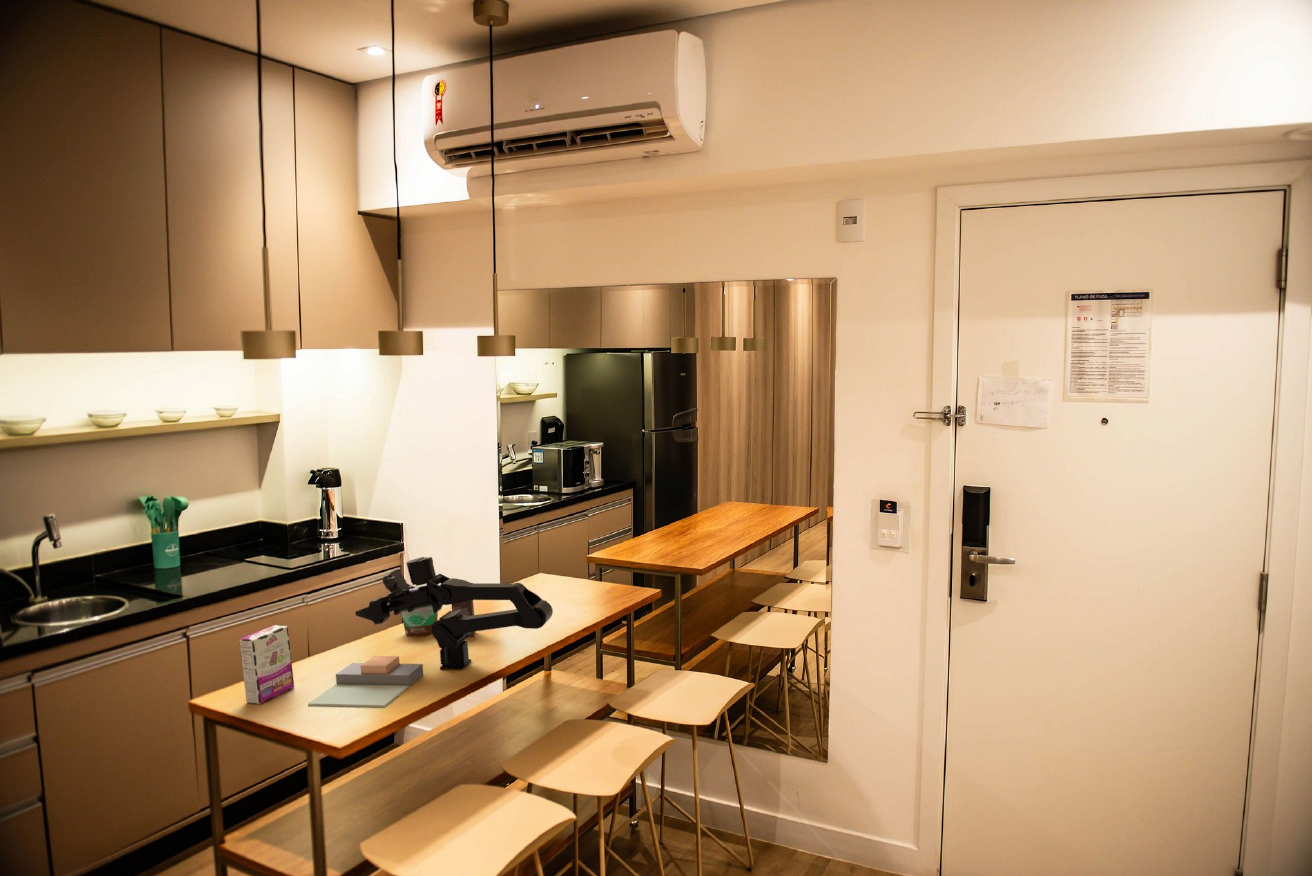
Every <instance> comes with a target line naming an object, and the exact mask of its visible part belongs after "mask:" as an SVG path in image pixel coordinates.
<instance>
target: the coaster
mask: <svg viewBox="0 0 1312 876" xmlns="http://www.w3.org/2000/svg"><path fill="white" fill-rule="evenodd" d="M362 663H363V664H362V665H360V667H361V673H388V672H389V671H390V670H392V669H393V668H394V667H396V666H397V665H398V664H400V656H399V655H373V657H371V658H369V659H368V660H366V661H365V662H362Z"/></svg>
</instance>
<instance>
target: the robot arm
mask: <svg viewBox="0 0 1312 876" xmlns="http://www.w3.org/2000/svg"><path fill="white" fill-rule="evenodd" d="M406 567H407V571H408V575H409V578H410V579H409V580H410V583H411V584H409V583H407V581H406V579H405V577H404V576H403V574H402V572H401V571H400V570H399V569H395V570H392V571H390V572H389V573H388V574H386V575H384V576H383V577H382V578H381V580H382V583H383V585H384V587H385V588H386V590H387V591H388V590H389V591H388V592H389V593H388V594H387V595H386V596H383V597H382V596H381V597H376V598H374V599H372V600H370V601H369V603H368V606H366V607H363V608H361V609H359V610H356V611H355V616H357V617H359V618H362V619H366V620H369V621H371V622H373V624H374V625H375V626H376V625H380V624H383V623H385V622H386V621H388V620H389V618H391V614H390V613H391V612H393V615H394V616H397V615H399V614H402V613H401V612H405V611H408V612H412V611H414V610H415V609H420V608H425V607H430V606H432V608H433V612H434V613H437V612H438V613H439V612H440V610H442V609H443V608H442V607H444V606H449V605H450V606H451V604H456V603H460V602H463V601H467V600H473V601H510V602H511V603H512V604H513V605H514V606H513V607H515V609H509V610H508V609H507V610H501V611H493V612H489V613H488V612H487V613H481V614H480V613H479V614H474V615H472V616H467V615H463V610H458V611H452V610H448V611H447V612H446V613H444V614H443V615H442V616H441V617H439V619H438V620H437V621H436V622H435V623H434V624H433V625H432V629H431V631H432V634H431V636H432V637H433V638H434V639H435V640H436V642H437V645H438V648H439V653H440V654H439V658H440V664H441V666H440V667H439V670H464V669H465V668H466V667H467V666H468V665H469V664H470V663H471V662H472V659H469V658H470V656H469V646H468V644H469V643H468V640H467V639H469V637H470V636H469V634H470V632H475V631H476V632H482V631H488V630H489V631H490V630H496V629H502V628H509V627H520V628H523V629H530V630H531V629H532V630H536V629H541V628H543V626H544V625H546V624H547V622H548V621H549V620H550V619H551V618H552V616H553V607H552V605H551V604H550V602H548V601H547V600H544V599H542V598H541V597H540V596H539V595H538V594H537V593H535V592H533V591H532V590H530V589H529V588H527V587H526V586H525V585H524V584H523V583H522V582H513V583H509V582H507V583H504V582H503V583H500V582H499V583H491V582H490V583H486V582H485V583H481V582H480V583H473V582H470V581H468V580H465V579H459V578H454V577H453V578H450V577H448V576H446V575H444V574H442V573H438V574H436V571H435V565H434V560H433V557H432V556H430V557H428V556H425V557H424V556H421V557H417V558H414V559H411V560H408V561H407V562H406ZM476 632H475V633H476Z"/></svg>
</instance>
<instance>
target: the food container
mask: <svg viewBox="0 0 1312 876" xmlns="http://www.w3.org/2000/svg"><path fill="white" fill-rule="evenodd" d="M400 614H401V617H402V623H403V628H404V633H405V634H404V635H405V636H406V637H409V638H422V637H421V636H424V637H427V636H430V635H431V636H432V631H431V629H432V625H433V624H434V623H435V622H436V621H437V620H439V619H438V617H439V611H438V612H437V613H434V612H433V608H432V606H430V607H425V608H420V609H415V610H414V611H412V612H408V611H405V612H401V613H400Z"/></svg>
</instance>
